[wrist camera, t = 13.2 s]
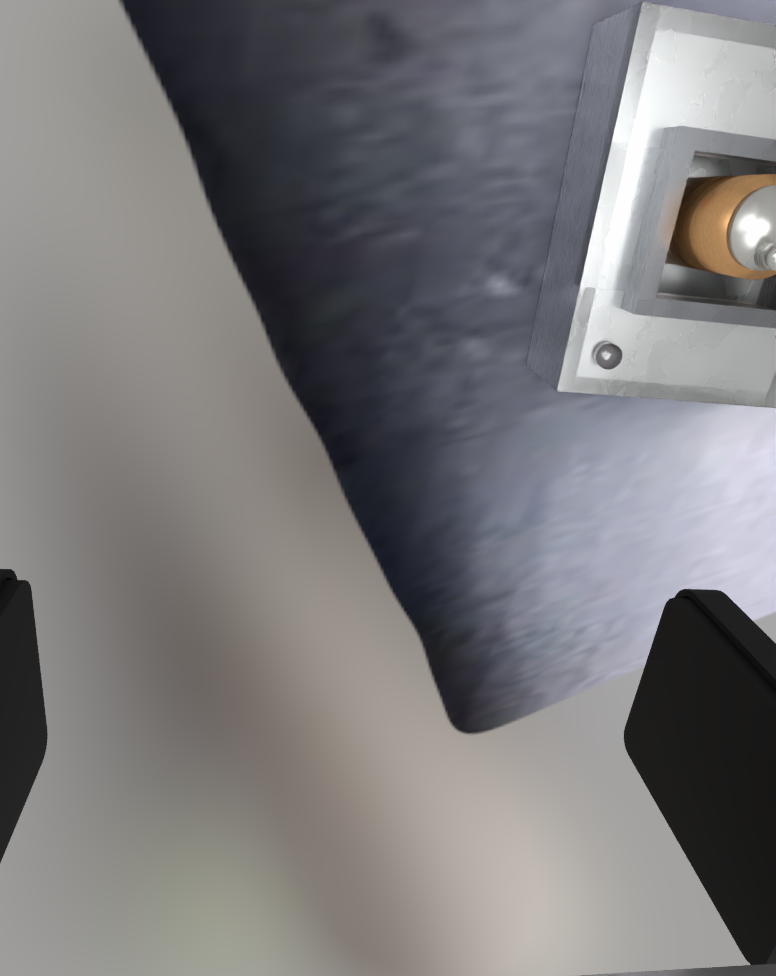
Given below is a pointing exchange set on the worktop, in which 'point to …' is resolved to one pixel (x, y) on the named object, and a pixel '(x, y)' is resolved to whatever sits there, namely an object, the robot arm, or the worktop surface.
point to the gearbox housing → (659, 214)
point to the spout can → (727, 226)
